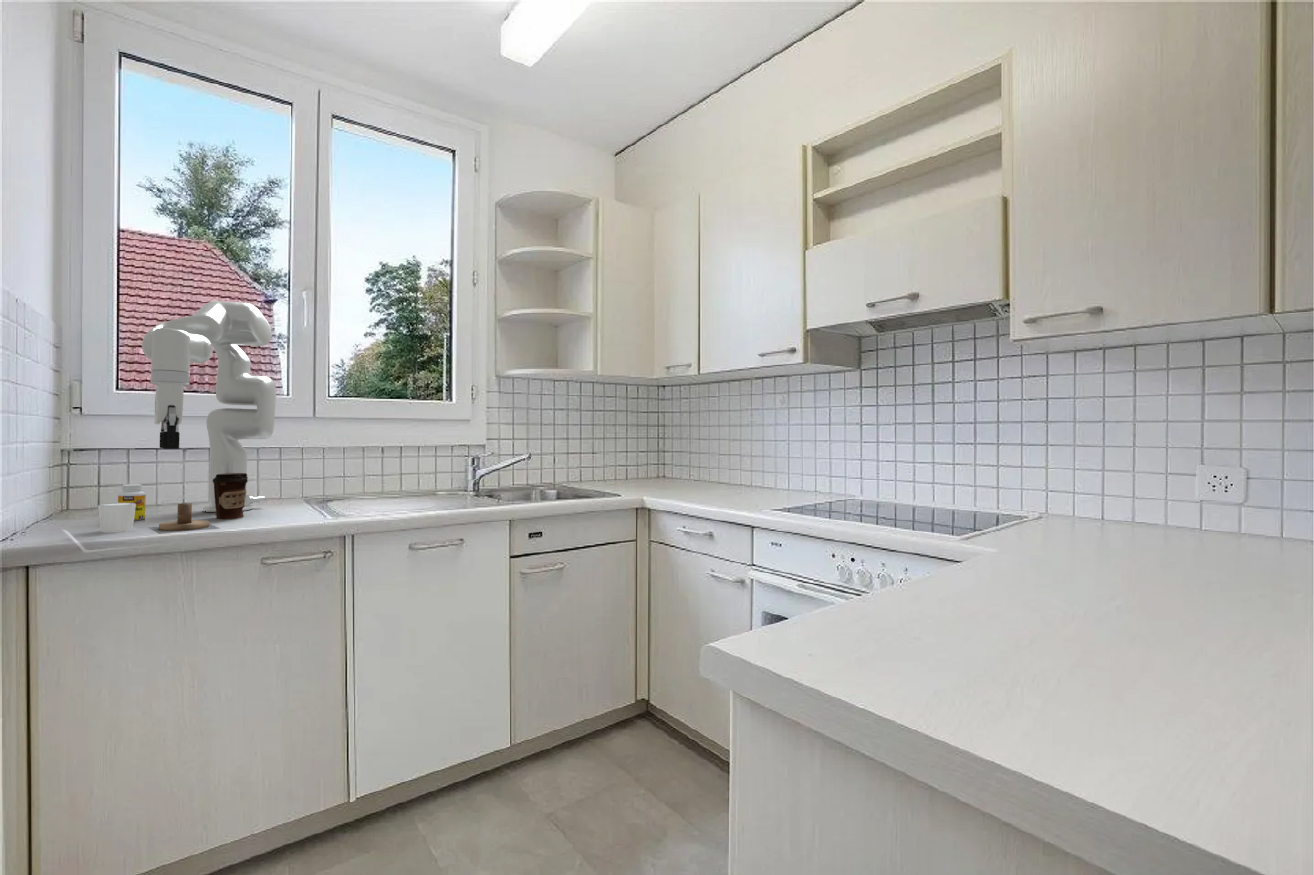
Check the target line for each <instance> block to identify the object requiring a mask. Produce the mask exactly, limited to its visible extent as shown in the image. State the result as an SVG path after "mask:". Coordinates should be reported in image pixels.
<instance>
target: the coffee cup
mask: <svg viewBox="0 0 1314 875" xmlns="http://www.w3.org/2000/svg"><path fill="white" fill-rule="evenodd" d="M248 479H249V477H248V473H247V474H246V473H225V474H217V475H216V477H215V478H214V479H213V483H214V497H215V508H216V512H215V516H216V520H237V519H243V518H244V511H242V509H243V507H244V506H245V499H246V489H245V487H246V483H247V484H248V481H249V480H248Z"/></svg>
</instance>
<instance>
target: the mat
mask: <svg viewBox="0 0 1314 875" xmlns="http://www.w3.org/2000/svg"><path fill="white" fill-rule="evenodd" d="M148 528H149V529H151V530H152V531H153V532H156V533H157V534H160V535H161V534H171V533H181V532H192V531H205V530H215V529H216V530H217V529H219V526H216V525H213V524H212V523H209V527H207V528H203V529H196V530H185V531H162V530H159V526H153V527H152V526H151V527H148Z"/></svg>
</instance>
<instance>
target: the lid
mask: <svg viewBox="0 0 1314 875" xmlns="http://www.w3.org/2000/svg"><path fill="white" fill-rule="evenodd" d="M192 507H193V503H191V502H190V503H189V502H187V503H185V502H184V503H177V520H173V521H172V520H171V521H167V522H160V523H159V524H158V527H159V530H162V531H183V532H186V531H185V530H195V531H197V530H196V529H203V528H207V527H209V524H210V521H209V520H206V519H205V520H204V519H203V520H201V519H200V520H199V519H192V517H193V516H192V514H193V512H192V511H193V508H192Z"/></svg>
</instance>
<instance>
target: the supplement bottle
mask: <svg viewBox="0 0 1314 875" xmlns="http://www.w3.org/2000/svg"><path fill="white" fill-rule="evenodd" d="M121 487H122V488H121V492H119V493H118V494H117V497H118V498H117V503H135V504H136V507H135V515H134V522H133V523H138V522H140V523H141V522H145V521H146V498H147V497H146V492H145V491H142V490H143V484H142V483H141V484H140V483H138V484H137V483H134V484H130V483H128V484H127V483H126V484H122V486H121Z"/></svg>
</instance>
